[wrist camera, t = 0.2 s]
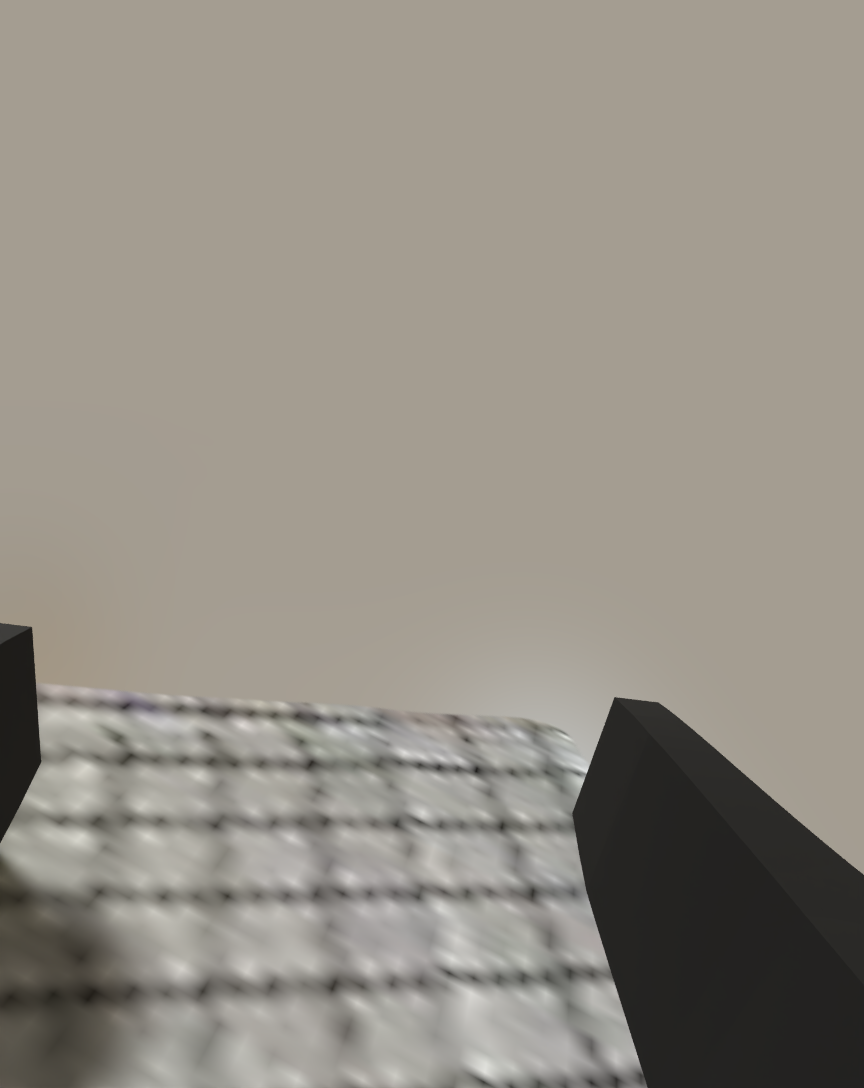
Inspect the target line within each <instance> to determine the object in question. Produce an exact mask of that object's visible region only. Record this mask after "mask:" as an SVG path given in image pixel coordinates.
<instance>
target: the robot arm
mask: <svg viewBox="0 0 864 1088" xmlns="http://www.w3.org/2000/svg"><path fill="white" fill-rule="evenodd" d="M33 650H34V649H33V634H32V627H27V626H19V625H11V624H2V623H0V843H1V841H2V839H3V837H4V835H5V833H6V831H7V829H8V827H9V825H10V824H11V822H12V820H13V818H14V816H15V814H16V812H17V810H18V808H19V806H20V804H21V802H22V800H23V798H24V796H25V794H26V792H27V790H28V788H29V786H30V784H31V782H32V780H33V778H34V776H35V774H36V771H37V769H38V767H39V765H40V763H41V754H40V739H39V724H38V709H37V694H36V679H35V664H34V651H33ZM573 819H574V825H575V831H576V837H577V843H578V849H579V855H580V860H581V865H582V871H583V876H584V881H585V886H586V891H587V894H588V898H589V901H590V904H591V908H592V911H593V914H594V918H595V921H596V924H597V927H598V931H599V934H600V937H601V940H602V944H603V947H604V950H605V953H606V957H607V960H608V963H609V966H610V969H611V973H612V976H613V979H614V982H615V985H616V988H617V992H618V995H619V998H620V1001H621V1004H622V1007H623V1011H624V1014H625V1017H626V1020H627V1023H628V1026H629V1030H630V1033H631V1036H632V1039H633V1042H634V1045H635V1049H636V1052H637V1055H638V1058H639V1061H640V1064H641V1068H642V1071H643V1074H644V1077H645V1080H646V1084H647V1087H648V1088H864V875H863V874H862V873H861V872H860V871H858V870H857V869H856V868H854V867H853V866H852V865H851V864H849V863H848V862H847V861H846V860H845V859H843V858H842V857H841V856H840V855H838V854H837V853H836V852H835V851H834V850H832V849H831V848H830V847H829V846H828V845H826V844H825V843H824V842H823V841H822V840H820V839H819V838H818V837H817V836H815V835H814V834H813V833H812V832H811V831H810V830H808V829H807V828H806V827H805V826H804V825H802V824H801V823H800V822H799V821H798V820H797V819H795V818H794V817H793V816H792V815H791V814H790V813H788V812H787V811H786V810H785V809H784V808H782V807H781V806H780V805H779V804H778V803H777V802H775V801H774V800H773V799H772V798H771V797H770V796H768V795H767V794H766V793H765V792H764V791H763V790H762V789H761V788H759V787H758V786H757V785H756V784H755V783H754V782H753V781H751V780H750V779H749V778H748V777H747V776H746V775H745V774H743V773H742V772H741V771H740V770H739V769H738V768H736V767H735V766H734V765H733V764H732V763H731V762H730V761H728V760H727V759H726V758H725V757H724V756H723V755H722V754H720V753H719V752H718V751H717V750H716V749H715V748H714V747H712V746H711V745H710V744H709V743H708V742H707V741H705V740H704V739H703V738H702V737H701V736H700V735H698V734H697V733H696V732H695V731H694V730H693V729H691V728H690V727H689V726H688V725H687V724H685V723H684V722H683V721H682V720H680V719H679V718H678V717H677V716H676V715H674V714H673V713H672V712H670V711H669V710H668V709H666V708H665V707H664V706H662V705H661V704H659V703H658V702H649V701H641V700H632V699H624V698H616V697H615V698H614V700H613V703H612V706H611V709H610V711H609V714H608V717H607V720H606V722H605V726H604V728H603V731H602V733H601V736H600V739H599V742H598V744H597V747H596V750H595V753H594V755H593V758H592V761H591V764H590V766H589V769H588V772H587V775H586V777H585V780H584V783H583V786H582V788H581V791H580V794H579V797H578V799H577V802H576V805H575V808H574V810H573Z"/></svg>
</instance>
